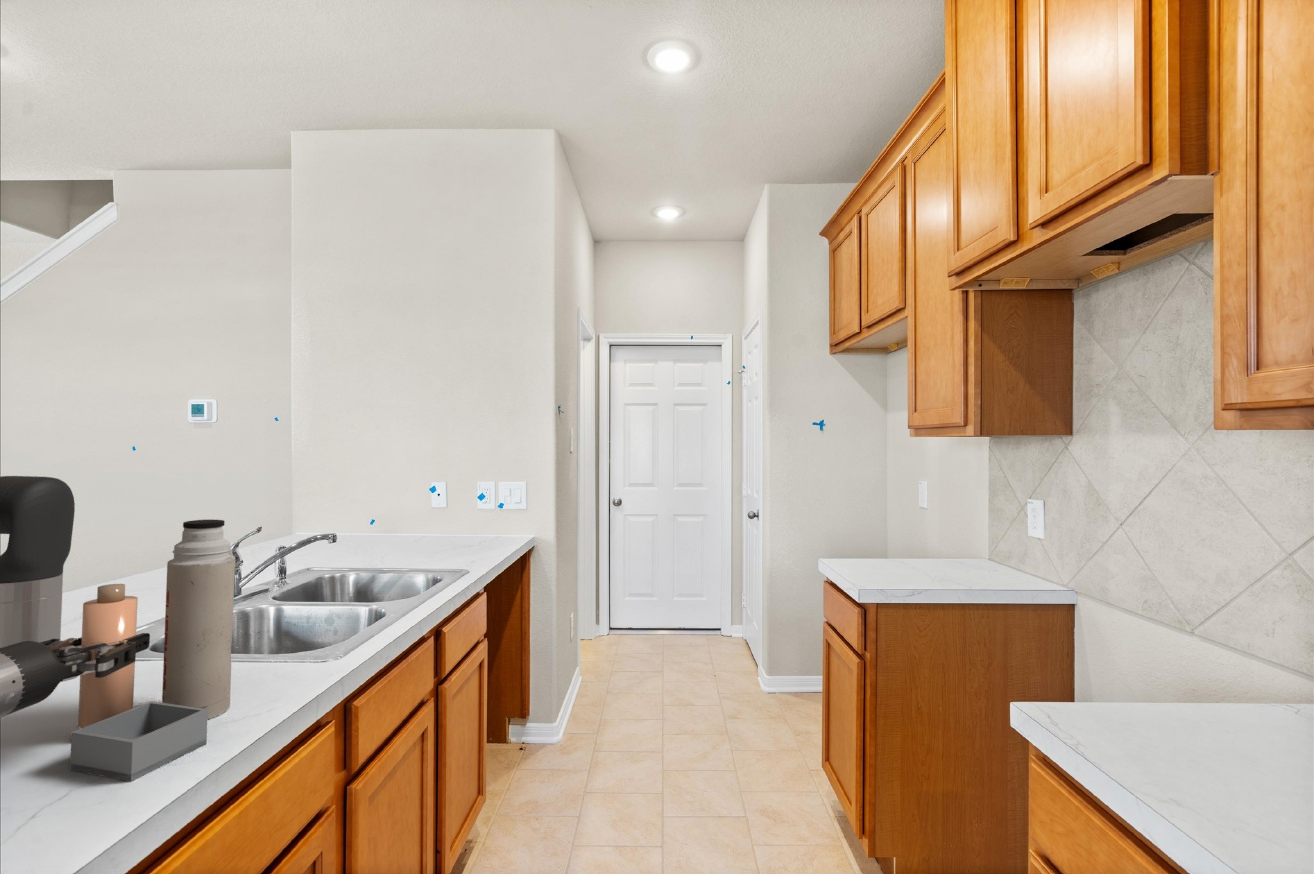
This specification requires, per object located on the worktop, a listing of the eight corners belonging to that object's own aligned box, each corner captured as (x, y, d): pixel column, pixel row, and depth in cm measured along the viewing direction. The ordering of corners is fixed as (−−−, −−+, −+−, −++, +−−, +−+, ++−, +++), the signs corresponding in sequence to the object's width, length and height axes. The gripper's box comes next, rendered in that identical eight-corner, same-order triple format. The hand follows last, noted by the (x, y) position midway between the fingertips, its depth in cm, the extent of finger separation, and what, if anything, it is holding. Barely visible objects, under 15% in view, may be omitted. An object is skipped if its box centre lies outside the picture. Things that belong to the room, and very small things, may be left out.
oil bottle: (66, 726, 80) (72, 589, 80) (112, 708, 86) (117, 580, 86) (99, 731, 79) (105, 592, 79) (143, 713, 84) (148, 583, 85)
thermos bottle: (151, 728, 84) (159, 524, 84) (173, 704, 91) (181, 517, 92) (220, 720, 86) (227, 523, 87) (236, 698, 94) (243, 516, 94)
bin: (70, 770, 73) (71, 732, 73) (150, 734, 82) (151, 701, 82) (131, 781, 71) (132, 742, 71) (206, 743, 80) (207, 709, 80)
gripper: (50, 655, 68) (176, 614, 85) (-71, 650, 69) (78, 610, 85) (47, 723, 68) (174, 668, 85) (-75, 717, 68) (76, 663, 85)
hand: (125, 639), depth 85 cm, fingers closed on oil bottle, 5 cm apart
